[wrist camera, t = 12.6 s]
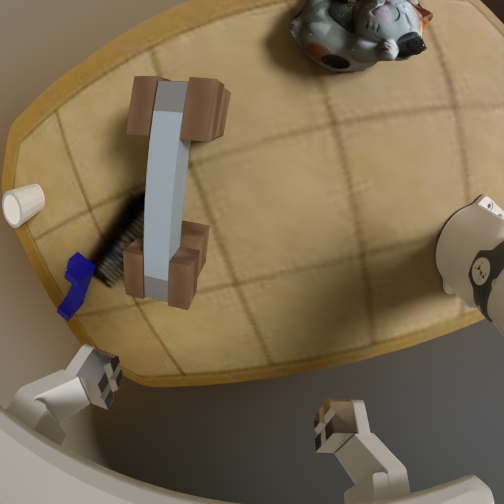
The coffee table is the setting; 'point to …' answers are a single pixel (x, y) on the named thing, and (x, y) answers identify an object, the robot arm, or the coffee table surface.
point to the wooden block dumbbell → (192, 234)
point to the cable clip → (76, 284)
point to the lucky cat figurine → (359, 32)
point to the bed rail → (164, 187)
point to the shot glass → (22, 204)
